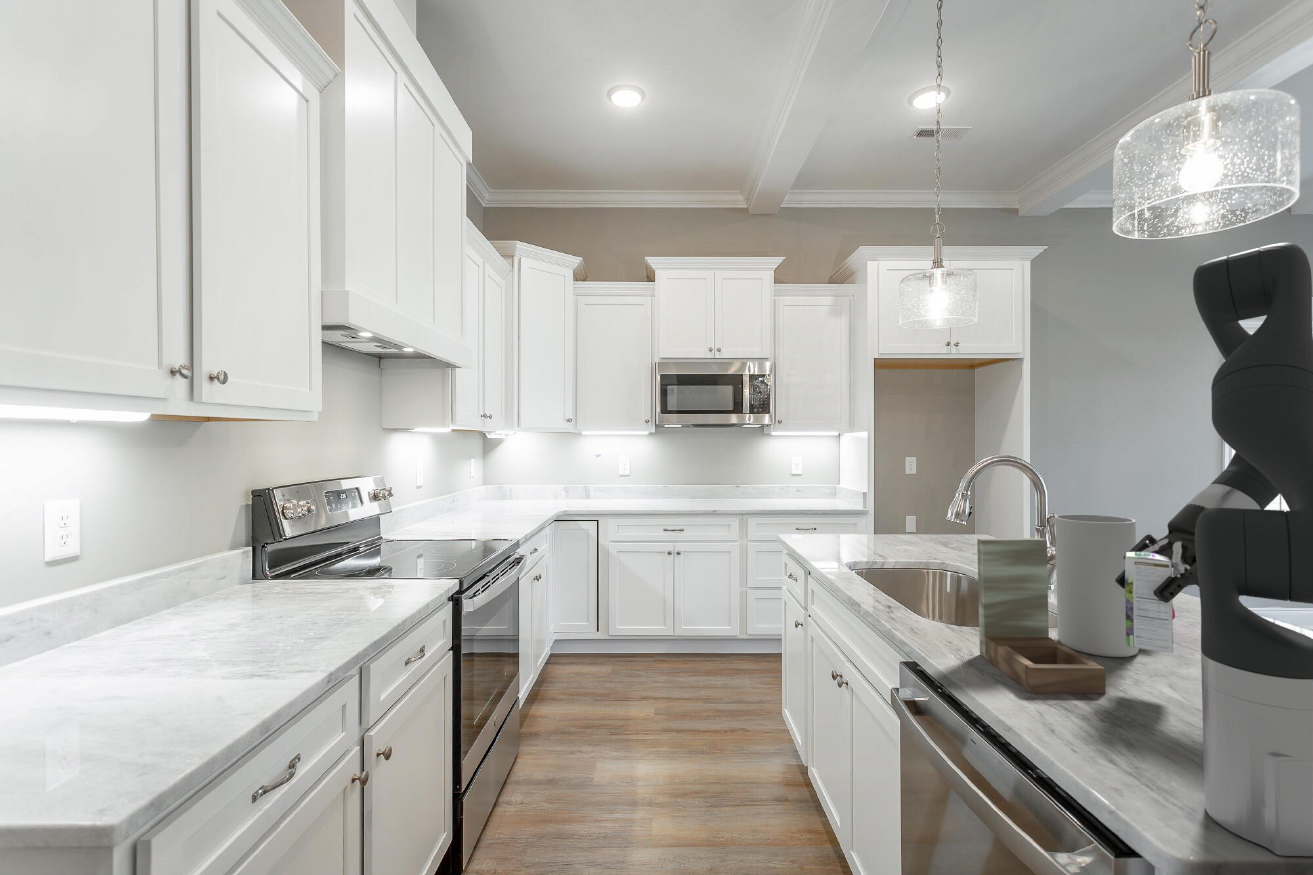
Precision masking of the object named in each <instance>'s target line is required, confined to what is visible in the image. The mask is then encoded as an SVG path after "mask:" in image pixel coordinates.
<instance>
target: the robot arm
mask: <svg viewBox="0 0 1313 875" xmlns="http://www.w3.org/2000/svg"><path fill="white" fill-rule="evenodd" d="M1312 278H1313V277H1312V270H1311V263H1310V261H1309V258H1308V256H1307V253H1306V252H1305V251H1304V249H1303V248H1301V246H1299V245H1298V244H1297V243H1295V242H1294V243H1293V242H1279V243H1273V244H1269V245H1265V246H1261V247H1258V248H1257V247H1256V248H1253V249H1248V250H1245V251H1241V252H1238V253H1234V254H1230V255H1227V256H1226V255H1225V256H1222V257H1219V258H1215V259H1212V260H1208V261H1206V262H1204V263H1201V264H1200V265H1198V266H1197V267H1196V269H1195V270H1194V272H1193V279H1192V290H1193V291H1192V293H1193V298H1194V302H1195V304H1196V308H1197V310H1198V312H1199V315H1200V317H1201V319H1202V321H1203V324H1204V326H1205V327H1206V329H1207V331H1208V332H1209V335H1210V337H1211V338H1212V340H1213V342H1214V344H1215V346H1216V348H1217V349H1218V351H1219V353H1220V354H1221V356H1222V359H1223V360H1224V361H1223V363H1222V364H1221V366H1220V367H1219V368H1218V370H1217V371H1216V372H1215V374H1214V375H1213V376H1214V377H1213V379H1212V382H1211V388H1210V389H1211V391H1210V392H1211V422H1212V425H1213V428H1214V430H1215V432H1216V433H1217V435H1218V436H1220V438H1221V439H1222V440H1223V441H1224V442H1225V444H1227V446H1229V447H1230V448H1231V449H1232V450H1233V451H1235V452H1234V454H1233V455H1232V457H1231V459H1230V461H1229V463H1228V465H1227V466H1226V468H1225V469H1224V470H1223V471H1222V472H1221V473H1220V474H1219V475H1218V476H1217V477H1215V479H1214V480H1213V481H1212V482H1211V483H1210V484H1209V485H1207V487H1205V488H1204V489H1202V490H1201V491H1199V492H1198V493H1196V494H1195V496H1194V497H1193V498H1192V499H1191V500H1189V501H1188V503H1186V505H1184V507H1182V509H1181V510H1179V512H1177V514H1175V515H1174V516H1173V517H1172V518H1171V519H1170V520H1169V522H1168V523H1167V530H1168V533H1167V534H1166V535H1165V536H1163V537H1161V538H1160V539H1158V538H1155V537H1154V536H1153V535H1152V534H1151V533H1150V534H1149V533H1148V534H1146V535H1144V536H1143V537H1142V538H1141V539H1140V540H1139V541H1138V542H1136V545H1135V546H1134V547H1133V548H1132V549H1131V550H1130V551H1129V552H1146V553H1155V554H1160V555H1163V556H1166V557H1168V558H1169V559H1170V560H1171V563H1172V568H1173V569H1172V576H1169V577H1168V578H1167V579H1166V580H1165V581H1164V582H1163V583H1162V584H1161V585H1160V586H1159V587H1157V588H1156V589H1155V590H1154V592H1153V594H1154V595H1155V596H1156V597H1157V598H1158V599H1159V600H1160V601H1162V602H1165V603H1168V602H1169V601H1170V600H1172V601H1173V599H1175V598H1176V597H1177V596H1178V595H1179V594H1180V593H1181V592H1182V591H1183V590H1184V589H1185V588H1190V587H1192V586H1197V587H1198V588H1199V589H1198V590H1199V591H1198V592H1199V599H1200V651H1201V652H1200V662H1201V663H1200V664H1201V700H1202V701H1201V703H1202V704H1201V705H1202V709H1201V710H1202V741H1203V742H1202V745H1203V747H1202V748H1203V749H1202V750H1203V772H1204V773H1203V774H1204V775H1203V777H1204V778H1203V780H1204V806H1205V807H1204V808H1205V811H1206V812H1207V813H1208V815H1209V816H1210V817H1211V819H1213V820H1214V821H1215V822H1216V823H1218V825H1220V826H1222V827H1223V828H1224V829H1226V830H1228V831H1229V832H1232V833H1233V834H1235V835H1237V836H1239V837H1242V838H1243V839H1246V840H1248V841H1250V842H1253V843H1256V845H1260V846H1262V847H1265V848H1267V850H1270V851H1271V852H1273V853H1274V854H1276V855H1278V856H1289V857H1291V856H1293V857H1295V856H1296V857H1313V638H1312V637H1310V636H1308V635H1305V634H1303V633H1301V632H1298V631H1297V630H1293V629H1291V628H1288V627H1287V626H1282V625H1280V624H1277V623H1275V622H1273V621H1270V620H1269V619H1266V618H1264V617H1262V616H1261V615H1259V614H1257V613H1256V612H1254V611H1252V610H1251V609H1249V608H1248V607H1247V606H1246V605H1244V604H1243V603H1242V602H1241V600H1240V597H1242V596H1244V597H1245V596H1246V597H1250V598H1251V597H1252V598H1260V599H1268V600H1275V601H1276V600H1277V601H1284V602H1288V601H1289V602H1290V603H1291V602H1292V603H1293V602H1294V603H1301V604H1302V603H1303V604H1310V605H1311V604H1312V605H1313V283H1312V282H1313V281H1312ZM1260 317H1265V318H1264V320H1263V321H1262V322H1261V324H1260V325H1259V326H1258V328H1257V329H1256V330H1255V331H1254V332H1253V333H1252V334H1251V333H1250V332H1249V331H1247V330H1246V329H1245V328H1244V327H1243V326H1242V325H1241V323H1240V321H1246V320H1250V319H1254V318H1255V319H1256V318H1260ZM1279 495H1281V497H1282V498H1283V500H1284V502H1285V504H1286V506H1287V507H1288V509H1289V510H1286V511H1285V510H1279V509H1278V510H1277V509H1266V508H1267V507H1268V506H1269V505H1270V504H1271V503H1272V502H1273V501H1274V500H1275V499H1276V498H1277V497H1278V496H1279ZM1125 558H1126V555H1125V556H1124V557H1123V559H1125ZM1115 582H1116V583H1117V584H1118V585H1119V586H1120V587H1122V588H1123V589H1125V570H1124V571H1123V572H1122V573H1121V574H1120V575H1119V576H1118V577H1117V578H1116V579H1115Z"/></svg>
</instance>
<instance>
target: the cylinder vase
mask: <svg viewBox="0 0 1313 875" xmlns="http://www.w3.org/2000/svg"><path fill="white" fill-rule="evenodd" d="M1054 526H1055V527H1054V533H1055V534H1054V538H1055V568H1056V570H1055V574H1056V578H1055V579H1056V581H1055V582H1056V610H1057V611H1056V612H1057V640H1058V641H1059V643H1061V644H1062V645H1064V646H1066V647H1068V648H1070V649H1071V650H1073V651H1076V652H1080V653H1084V654H1089V655H1092V656H1099V657H1106V658H1127V657H1132V656H1135V655H1136V654H1138V652H1139V649H1140V648H1133V647H1128V646H1127V645H1126V618H1125V589H1123V588H1122V587H1120V586H1119V585H1118V584H1117V583H1116V582H1115V579H1116V578H1117V577H1118V576H1119V575H1120V574H1121V573H1122V572H1123V571H1124V570H1125V559H1123V557H1124V556H1125V555H1126V553H1127V552H1129V551H1130V550H1131V549H1132V548H1133V547H1134V546H1135V545H1136V544H1137V538H1136V537H1137V535H1136V534H1137V532H1136V528H1137V526H1136V519H1134V518H1128V517H1122V516H1114V515H1101V514H1084V513H1083V514H1081V513H1080V514H1079V513H1077V514H1072V513H1071V514H1058V515H1057V514H1056V515H1055V516H1054Z"/></svg>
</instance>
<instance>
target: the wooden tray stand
mask: <svg viewBox="0 0 1313 875" xmlns="http://www.w3.org/2000/svg"><path fill="white" fill-rule="evenodd" d="M976 541H977V542H976V543H977V546H976V548H977V581H978V582H977V584H978V585H977V587H978V625H979V626H978V628H979V629H978V630H979V631H978V632H979V633H978V634H979V655H980V656H981V657H983V658H986V659H985V660H987V661H988V662H990V664H992V665H993V664H994V665H993V666H994V667H996V668H997V669H998V670H1000V671H1001V672H1002V673H1004V674H1005V673H1006V674H1005V675H1007V676H1008V677H1009V678H1011V679H1012V680H1013V681H1014V682H1016V683H1017V684H1019V685H1020V686H1021V687H1022V688H1024V689H1026V690H1027V691H1029V693H1033V694H1034V693H1035V694H1036V693H1039V694H1106V692H1107V691H1106V688H1107V687H1106V686H1107V684H1106V668H1105V667H1104V666H1102V665H1101V664H1098V663H1097V662H1095V661H1093V660H1091V659H1090V658H1087V657H1086V656H1084V655H1082V654H1080V653H1079V652H1078V651H1076V650H1074V649H1071V648H1069V647H1067V646H1065V645H1064V644H1062V643H1061V642H1060V641H1059V642H1058V641H1057V640H1055V639H1053V638H1052V637H1051V636H1050V629H1049V628H1050V627H1049V625H1050V624H1049V618H1050V617H1049V586H1048V585H1049V584H1048V582H1049V581H1048V579H1049V578H1048V546H1047V545H1048V543H1047V542H1048V541H1047V539H1045V538H1041V537H1019V538H1018V537H1014V538H1013V537H1012V538H1011V537H1009V538H1008V537H1006V538H997V537H993V538H989V537H988V538H977V539H976Z"/></svg>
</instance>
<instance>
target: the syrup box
mask: <svg viewBox="0 0 1313 875" xmlns="http://www.w3.org/2000/svg"><path fill="white" fill-rule="evenodd" d="M1169 576H1172V577H1173V569H1172V563H1171V560H1170V559H1169V558H1168V557H1166V556H1163V555H1160V554H1155V553H1146V552H1127V553H1126V558H1125V618H1126V645H1127V646H1128V647H1133V648H1139V649H1140V650H1147V651H1154V652H1161V653H1166V654H1167V653H1168V654H1173V653H1174V632H1173V631H1174V629H1173V628H1174V627H1173V626H1174V625H1173V624H1174V623H1173V622H1174V621H1173V620H1174V619H1173V608H1174V605H1173V599H1172V600H1170V601H1169V602H1168V603H1165V602H1162V601H1160V600H1159V599H1158V598H1157V597H1156V596H1155V595H1154V594H1153V592H1154V590H1155V589H1156V588H1157V587H1159V586H1160V585H1161V584H1162V583H1163V582H1164V581H1165V580H1166V579H1167V578H1168V577H1169ZM1172 605H1173V606H1172Z"/></svg>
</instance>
